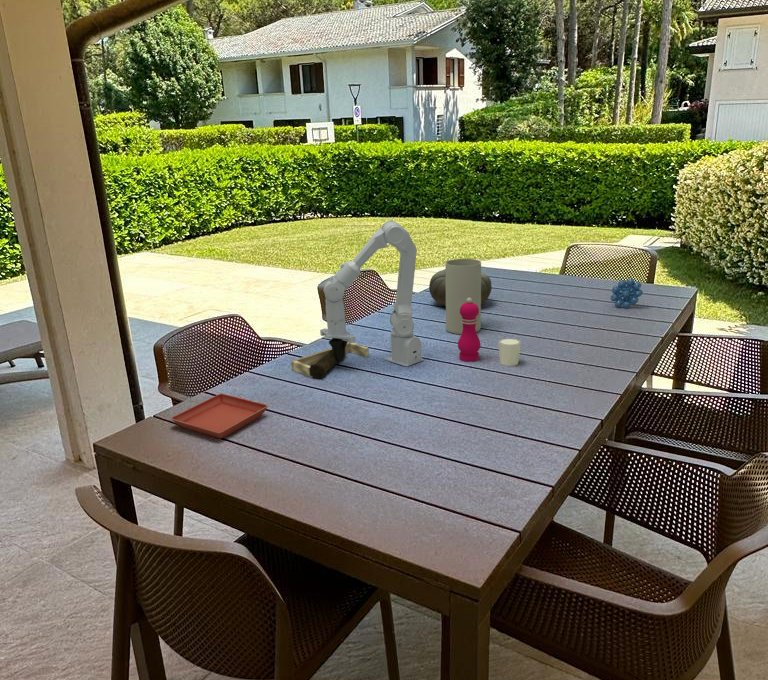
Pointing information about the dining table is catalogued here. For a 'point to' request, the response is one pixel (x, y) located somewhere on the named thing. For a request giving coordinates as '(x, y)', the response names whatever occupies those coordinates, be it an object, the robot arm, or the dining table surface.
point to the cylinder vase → (462, 291)
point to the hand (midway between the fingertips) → (339, 360)
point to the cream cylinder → (509, 351)
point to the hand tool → (323, 365)
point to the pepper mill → (469, 332)
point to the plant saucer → (220, 415)
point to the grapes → (626, 293)
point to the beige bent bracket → (304, 363)
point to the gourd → (439, 287)
